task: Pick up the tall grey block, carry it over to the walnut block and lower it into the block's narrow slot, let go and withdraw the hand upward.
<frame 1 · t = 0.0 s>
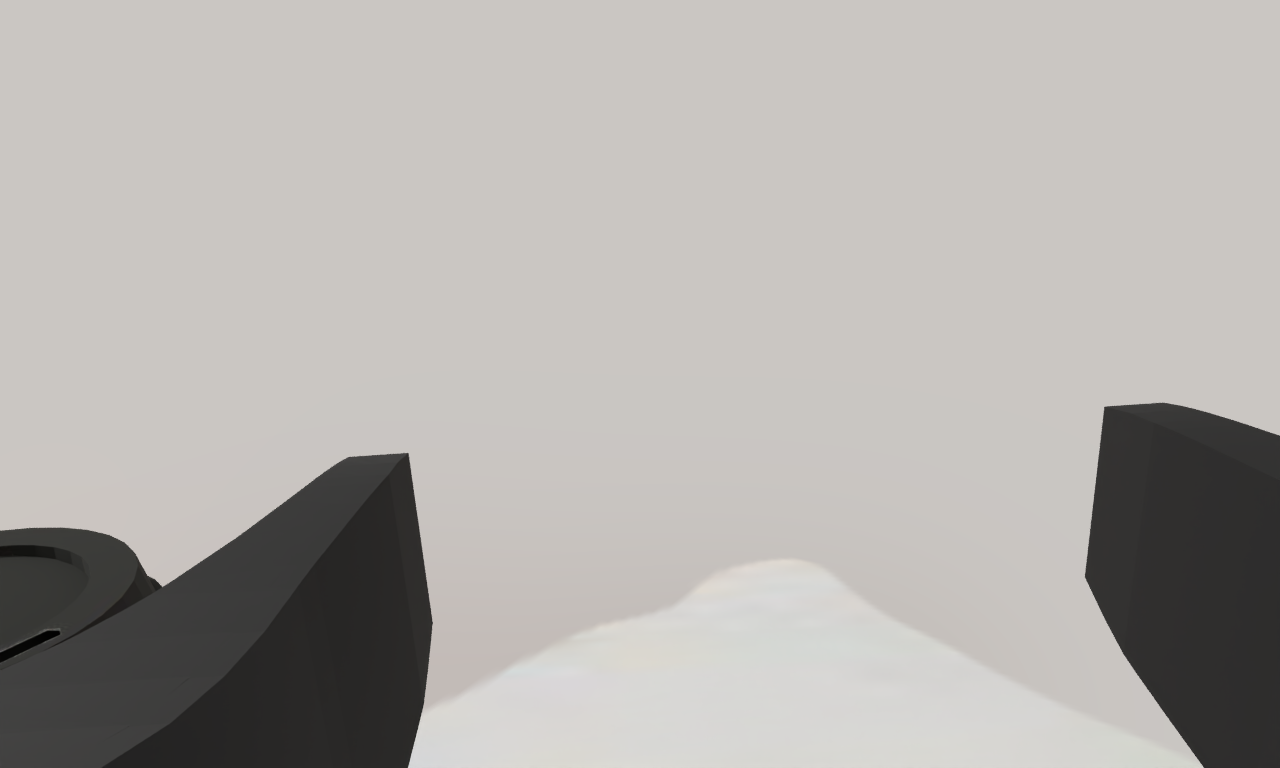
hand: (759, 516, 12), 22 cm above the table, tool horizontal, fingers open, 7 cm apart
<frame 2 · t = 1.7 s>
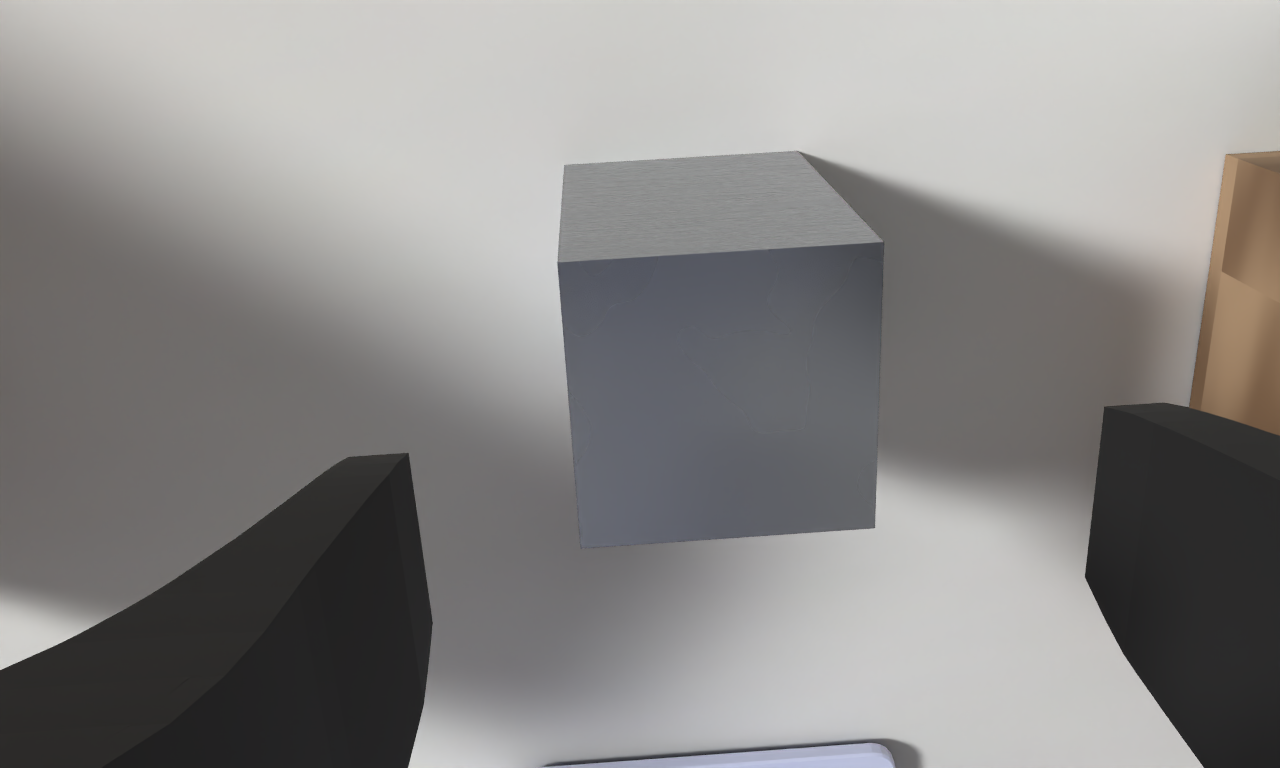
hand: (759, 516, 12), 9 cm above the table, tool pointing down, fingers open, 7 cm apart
tall grey block: (685, 270, 20), on the table
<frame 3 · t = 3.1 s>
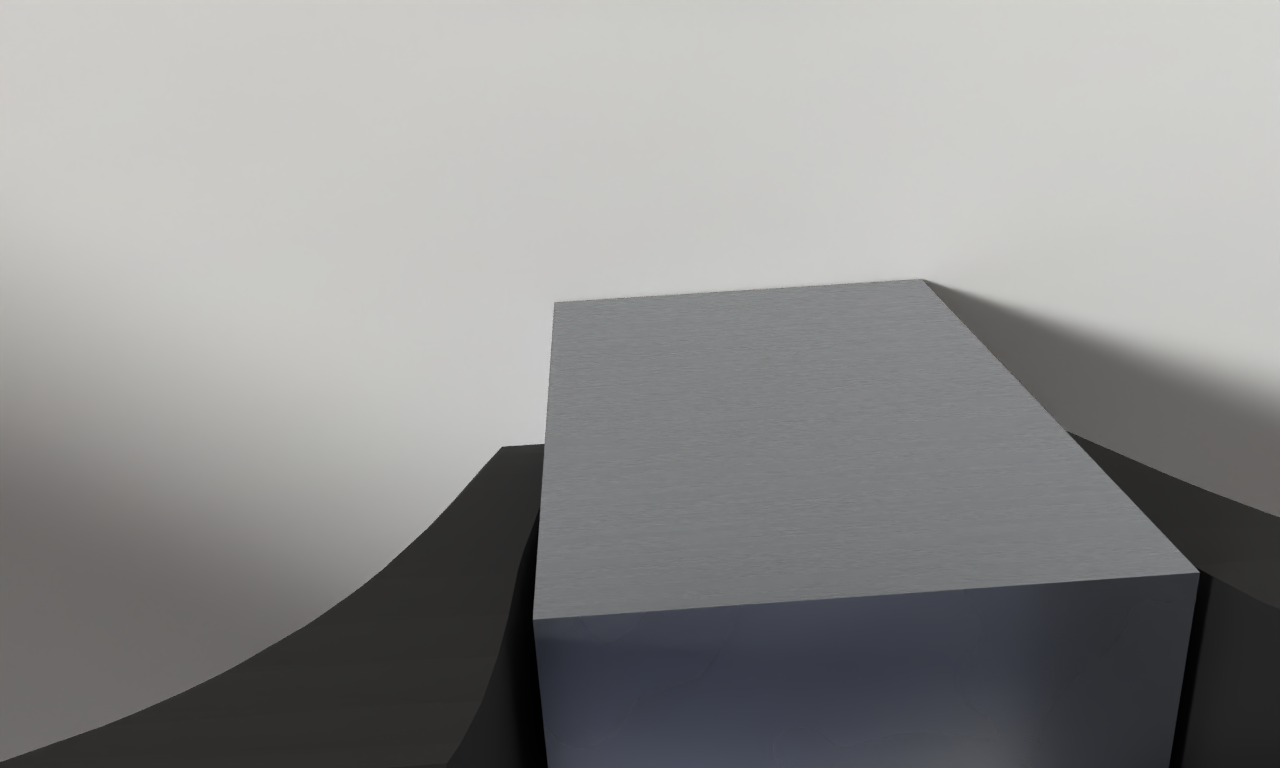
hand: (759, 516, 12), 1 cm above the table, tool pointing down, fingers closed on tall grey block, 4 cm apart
tall grey block: (741, 456, 13), on the table, touching gripper
when the fingers open (4 cm above the table, at t = 6.3 s): tall grey block stays where it is, resting on well block.
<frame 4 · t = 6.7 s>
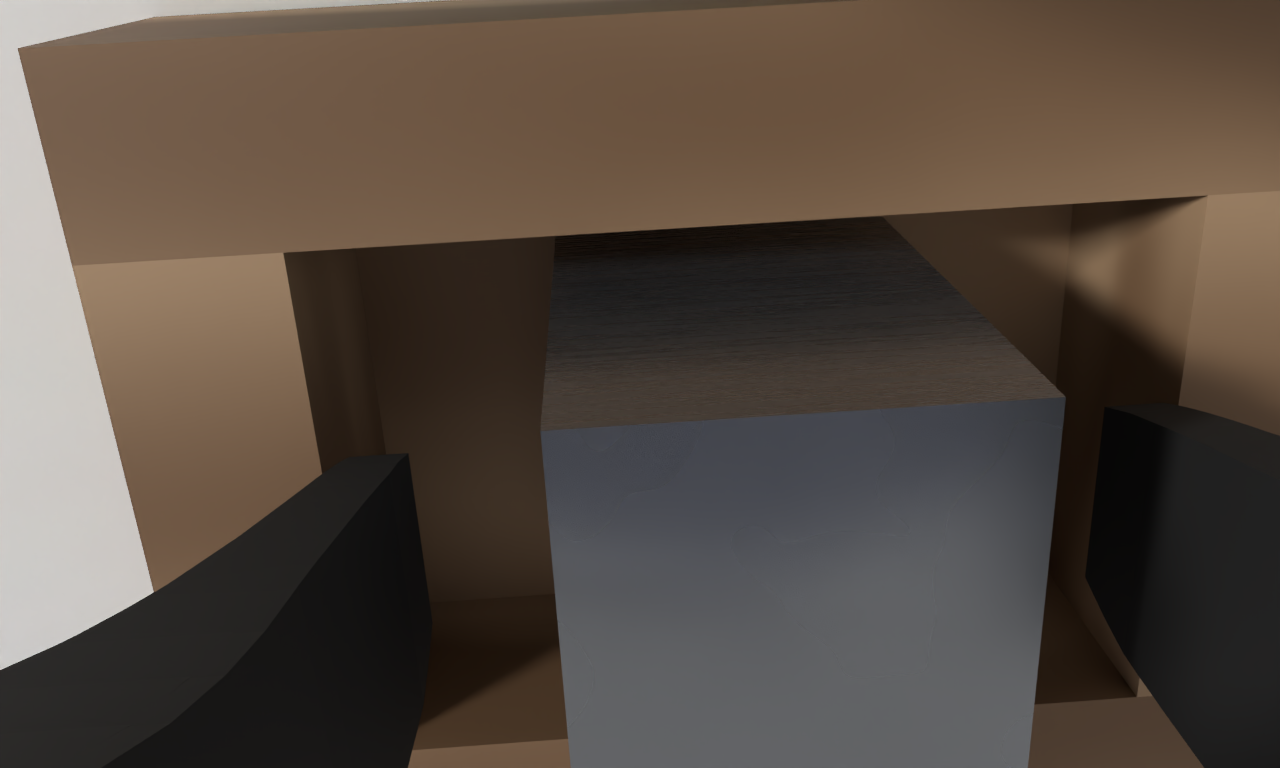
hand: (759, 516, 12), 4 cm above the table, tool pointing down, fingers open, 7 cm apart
tall grey block: (720, 368, 15), resting on well block
well block: (717, 376, 15), on the table
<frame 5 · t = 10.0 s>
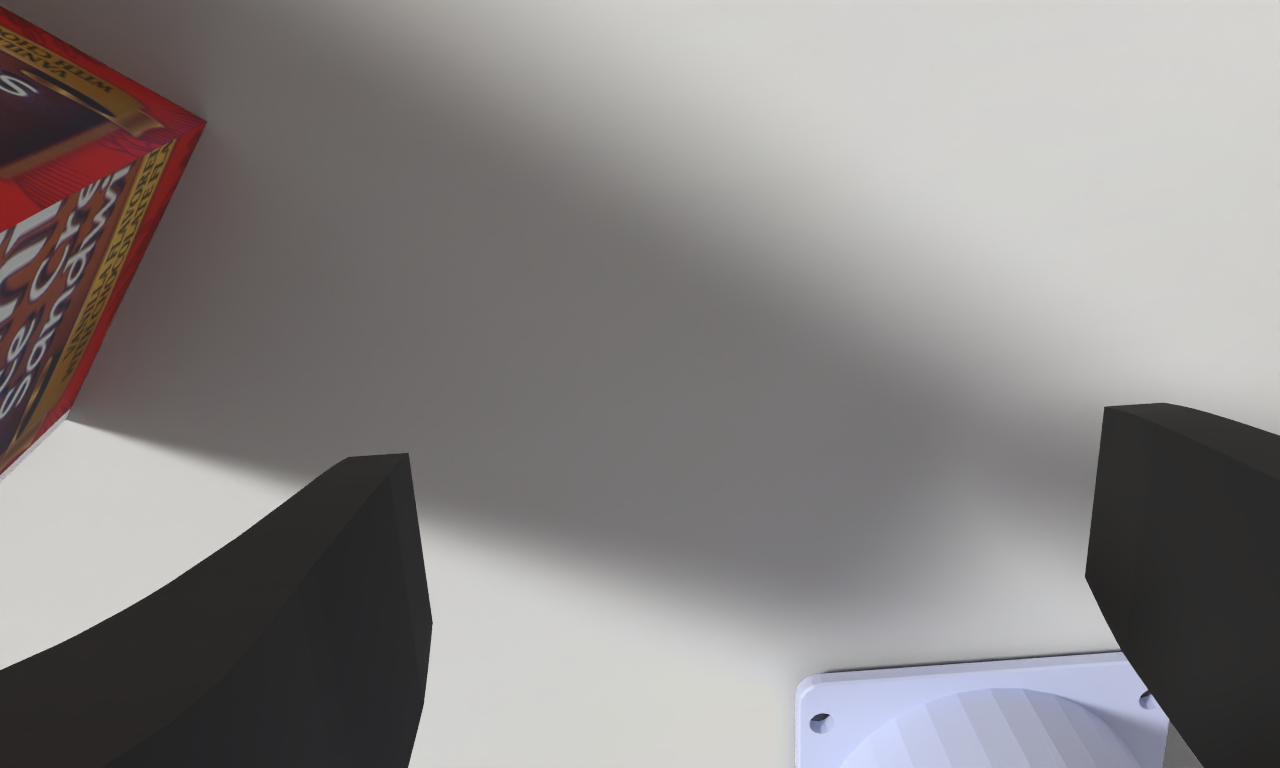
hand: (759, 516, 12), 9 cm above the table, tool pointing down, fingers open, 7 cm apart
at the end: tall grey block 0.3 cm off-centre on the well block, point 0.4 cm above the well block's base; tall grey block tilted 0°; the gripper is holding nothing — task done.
